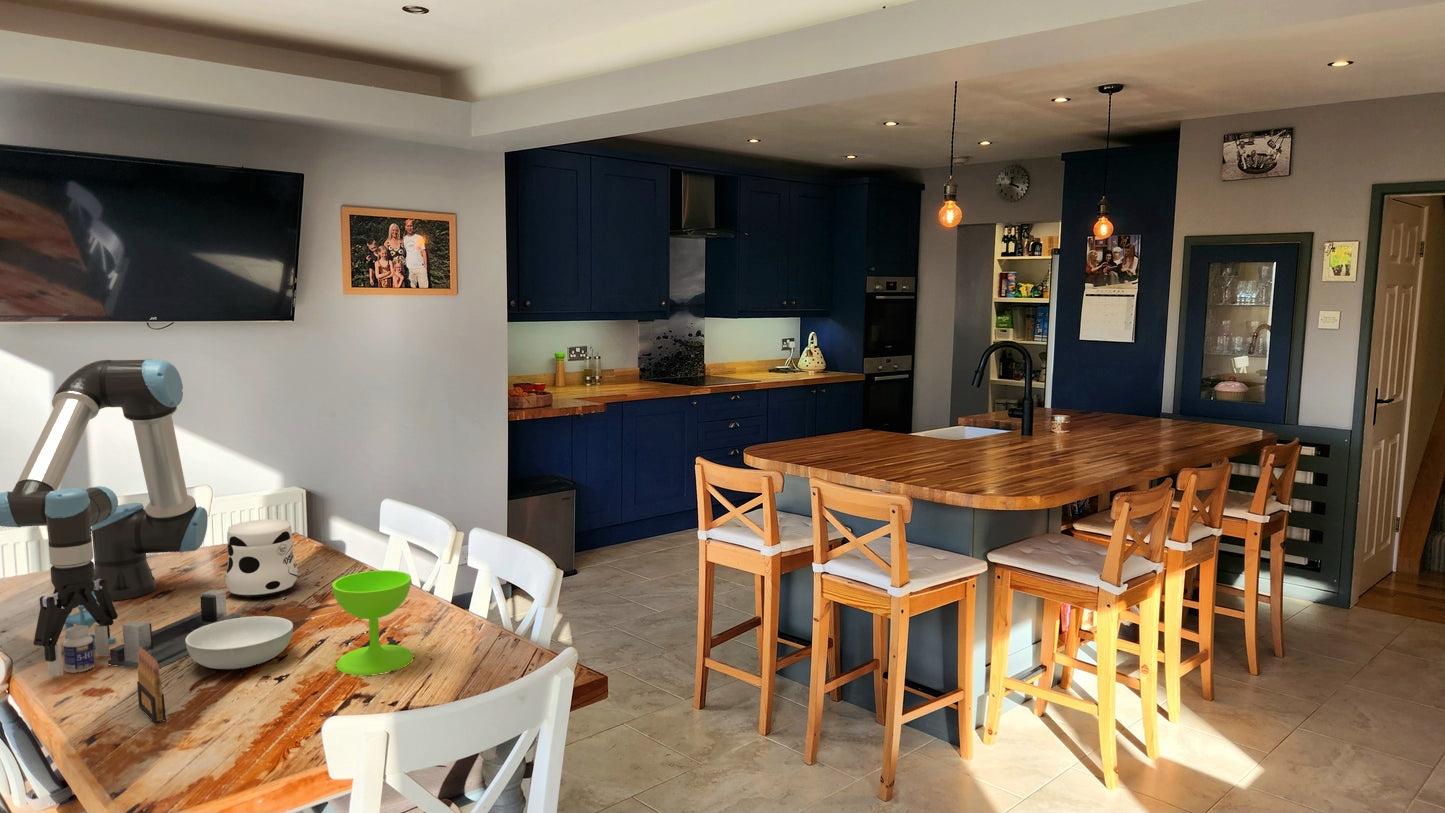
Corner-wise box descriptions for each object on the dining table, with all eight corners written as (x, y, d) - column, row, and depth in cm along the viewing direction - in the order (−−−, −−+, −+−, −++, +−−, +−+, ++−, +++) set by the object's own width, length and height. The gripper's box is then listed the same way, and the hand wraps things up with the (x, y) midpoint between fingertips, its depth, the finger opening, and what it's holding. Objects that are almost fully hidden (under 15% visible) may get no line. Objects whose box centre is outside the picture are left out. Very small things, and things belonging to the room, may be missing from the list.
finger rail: (200, 624, 229) (198, 587, 228) (243, 628, 226) (241, 591, 225) (107, 664, 204) (104, 624, 203) (154, 670, 201) (151, 629, 200)
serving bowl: (315, 650, 213) (314, 620, 212) (240, 687, 193) (238, 654, 193) (243, 639, 220) (241, 610, 219) (163, 673, 200) (161, 641, 199)
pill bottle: (80, 674, 199) (76, 633, 198) (58, 672, 200) (55, 631, 199) (101, 664, 204) (98, 624, 203) (80, 662, 205) (77, 623, 204)
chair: (57, 650, 212) (52, 598, 211) (92, 637, 220) (88, 587, 219) (81, 654, 210) (77, 602, 208) (117, 641, 217) (112, 590, 216)
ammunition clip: (138, 706, 184) (134, 646, 183) (149, 703, 185) (145, 644, 184) (154, 723, 177) (150, 661, 175) (166, 720, 178) (161, 659, 176)
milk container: (312, 589, 256) (309, 523, 254) (250, 606, 242) (247, 537, 240) (274, 578, 266) (270, 515, 264) (212, 594, 251) (208, 528, 249)
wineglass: (339, 681, 196) (336, 597, 194) (332, 655, 210) (328, 576, 208) (420, 668, 203) (417, 586, 201) (407, 643, 217) (404, 566, 215)
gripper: (104, 547, 211) (111, 643, 214) (4, 577, 189) (14, 684, 192) (132, 550, 209) (139, 646, 212) (35, 580, 187) (44, 688, 190)
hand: (80, 664), depth 202 cm, fingers open, 10 cm apart
